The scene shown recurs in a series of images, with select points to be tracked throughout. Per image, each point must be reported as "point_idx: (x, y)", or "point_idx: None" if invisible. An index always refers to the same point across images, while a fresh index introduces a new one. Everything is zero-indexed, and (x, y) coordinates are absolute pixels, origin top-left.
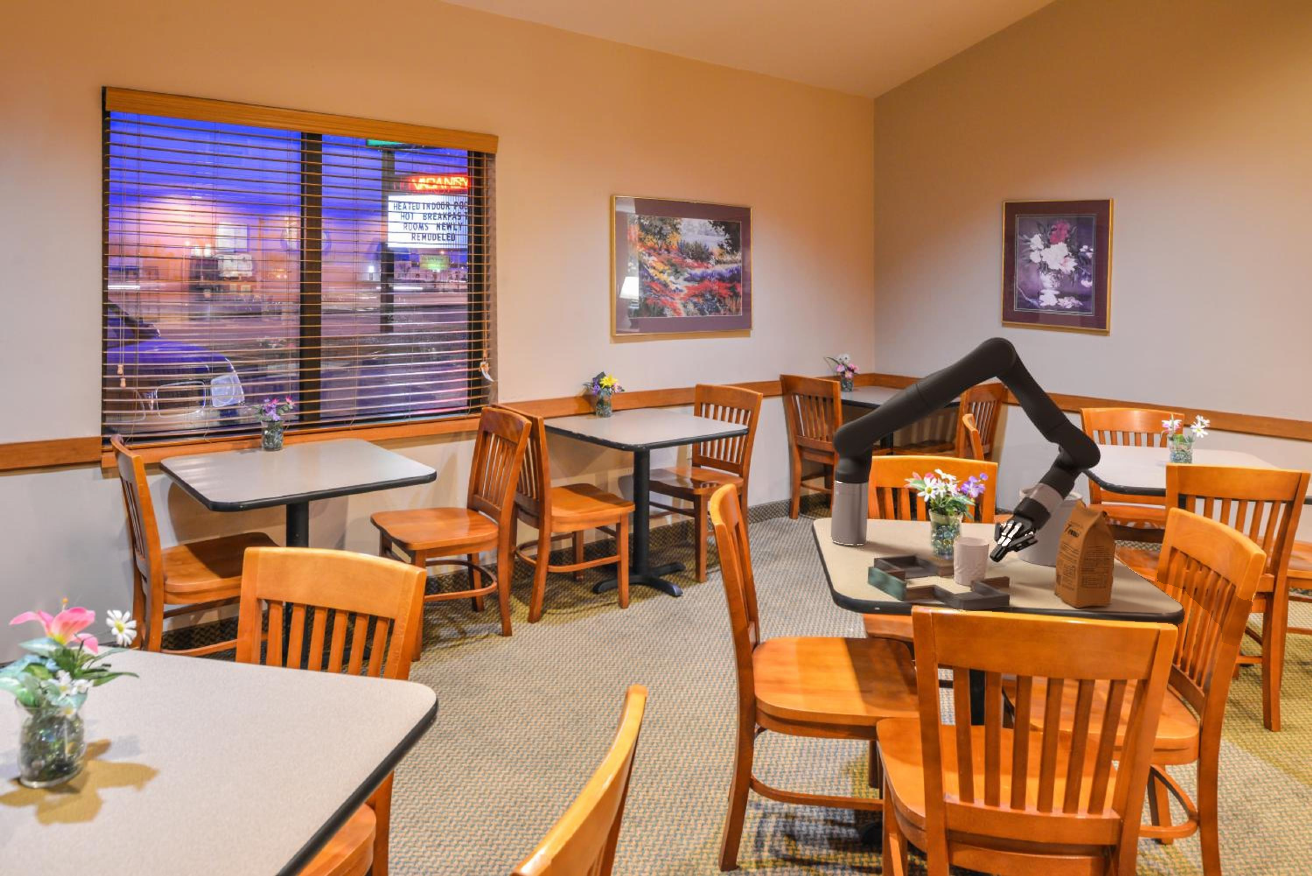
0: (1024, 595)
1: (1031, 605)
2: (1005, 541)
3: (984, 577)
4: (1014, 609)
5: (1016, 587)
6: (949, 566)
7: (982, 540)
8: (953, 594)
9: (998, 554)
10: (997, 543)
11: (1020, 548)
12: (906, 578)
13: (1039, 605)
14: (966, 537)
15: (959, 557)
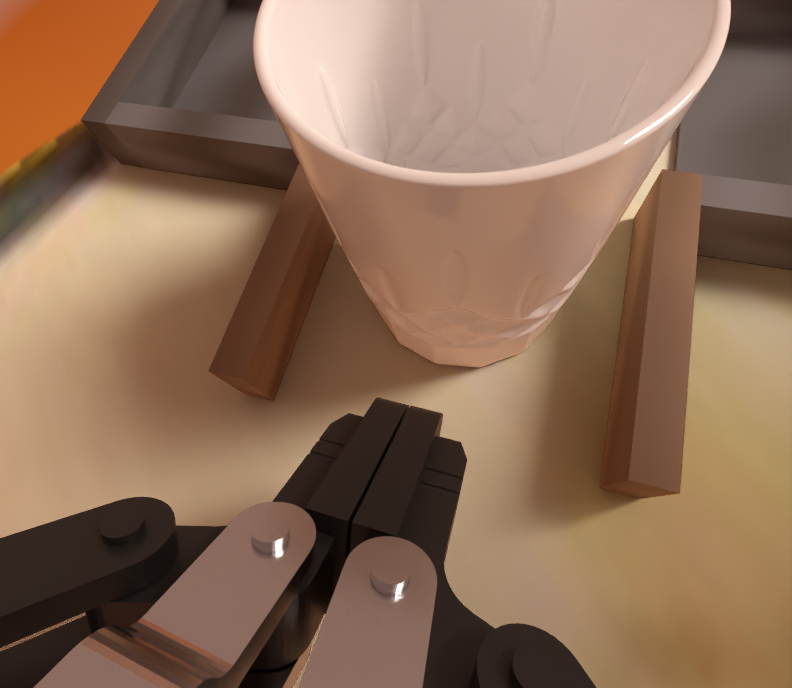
0: (125, 352)
1: (47, 250)
2: (264, 583)
3: (381, 311)
4: (89, 151)
5: (220, 448)
6: (654, 236)
7: (460, 179)
8: None
9: (342, 438)
10: (458, 604)
11: (52, 640)
12: None
13: (16, 281)
14: (692, 74)
15: (477, 40)
